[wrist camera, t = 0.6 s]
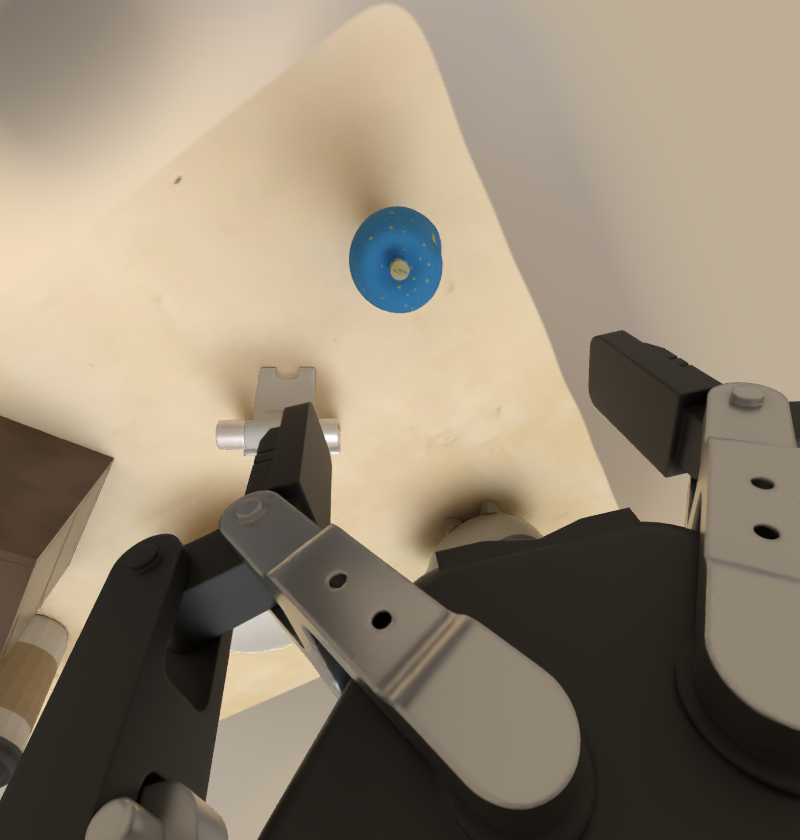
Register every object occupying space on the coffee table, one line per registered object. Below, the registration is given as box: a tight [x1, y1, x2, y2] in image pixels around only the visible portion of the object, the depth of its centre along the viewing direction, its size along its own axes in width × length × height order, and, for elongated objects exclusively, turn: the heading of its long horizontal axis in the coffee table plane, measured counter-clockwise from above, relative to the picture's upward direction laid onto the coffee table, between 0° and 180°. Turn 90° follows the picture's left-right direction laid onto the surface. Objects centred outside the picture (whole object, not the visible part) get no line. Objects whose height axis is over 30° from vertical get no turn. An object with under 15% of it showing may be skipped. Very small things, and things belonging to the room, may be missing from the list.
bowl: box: [230, 610, 295, 653], centre depth 46 cm, size 16×16×7 cm
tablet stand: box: [216, 368, 340, 456], centre depth 36 cm, size 9×8×8 cm
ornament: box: [349, 206, 443, 313], centre depth 27 cm, size 5×5×15 cm
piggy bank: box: [424, 500, 544, 575], centre depth 46 cm, size 11×15×12 cm
